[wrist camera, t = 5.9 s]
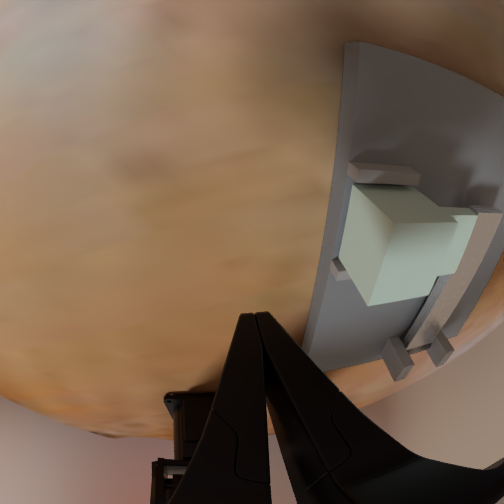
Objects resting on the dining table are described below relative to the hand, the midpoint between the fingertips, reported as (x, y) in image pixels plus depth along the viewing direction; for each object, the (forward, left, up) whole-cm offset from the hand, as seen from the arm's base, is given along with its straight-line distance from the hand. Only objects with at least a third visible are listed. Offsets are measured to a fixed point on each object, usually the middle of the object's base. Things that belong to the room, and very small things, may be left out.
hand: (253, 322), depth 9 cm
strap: (-5, -15, -5) cm, 16 cm away
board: (-2, -14, -7) cm, 15 cm away
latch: (0, -8, -5) cm, 10 cm away
